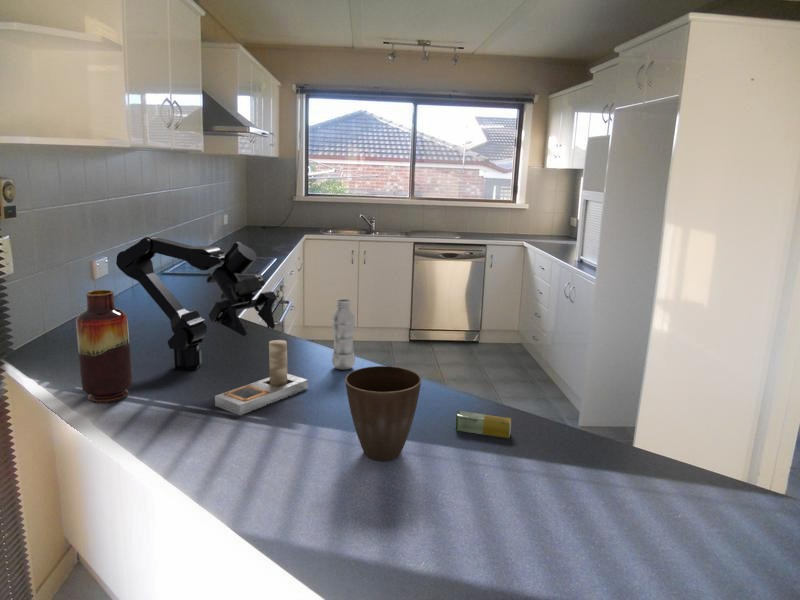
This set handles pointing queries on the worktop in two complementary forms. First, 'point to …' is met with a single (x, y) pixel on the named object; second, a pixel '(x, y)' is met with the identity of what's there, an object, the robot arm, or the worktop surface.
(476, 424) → the medication box
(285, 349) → the maple peg
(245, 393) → the white peg board
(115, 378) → the vase
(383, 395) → the plant pot
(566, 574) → the worktop surface
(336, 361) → the plastic bottle
